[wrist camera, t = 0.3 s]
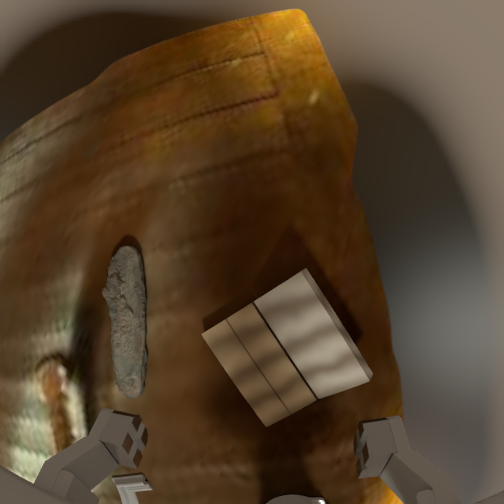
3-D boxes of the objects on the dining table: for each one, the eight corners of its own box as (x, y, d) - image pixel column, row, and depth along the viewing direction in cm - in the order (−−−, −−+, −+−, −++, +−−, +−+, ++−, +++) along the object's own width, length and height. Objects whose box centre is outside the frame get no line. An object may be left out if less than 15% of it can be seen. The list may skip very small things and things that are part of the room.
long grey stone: (118, 389, 67) (155, 395, 66) (109, 397, 62) (147, 404, 61) (111, 245, 67) (150, 245, 66) (99, 244, 62) (140, 245, 61)
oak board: (315, 395, 60) (316, 400, 57) (267, 422, 61) (266, 427, 58) (253, 301, 63) (251, 303, 60) (204, 332, 64) (201, 334, 61)
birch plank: (372, 373, 53) (369, 381, 51) (323, 392, 60) (318, 398, 58) (306, 267, 56) (300, 271, 54) (260, 297, 62) (253, 301, 60)
